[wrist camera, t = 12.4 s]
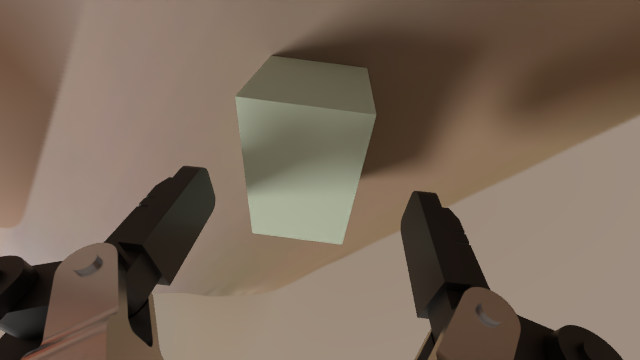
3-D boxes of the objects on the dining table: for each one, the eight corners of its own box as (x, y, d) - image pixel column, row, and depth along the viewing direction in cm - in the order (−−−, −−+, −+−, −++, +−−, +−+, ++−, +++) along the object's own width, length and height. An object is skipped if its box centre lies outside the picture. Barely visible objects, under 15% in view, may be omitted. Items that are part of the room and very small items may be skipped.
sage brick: (274, 170, 16) (252, 232, 12) (271, 54, 12) (235, 96, 8) (343, 180, 16) (341, 244, 12) (366, 67, 12) (376, 114, 8)
